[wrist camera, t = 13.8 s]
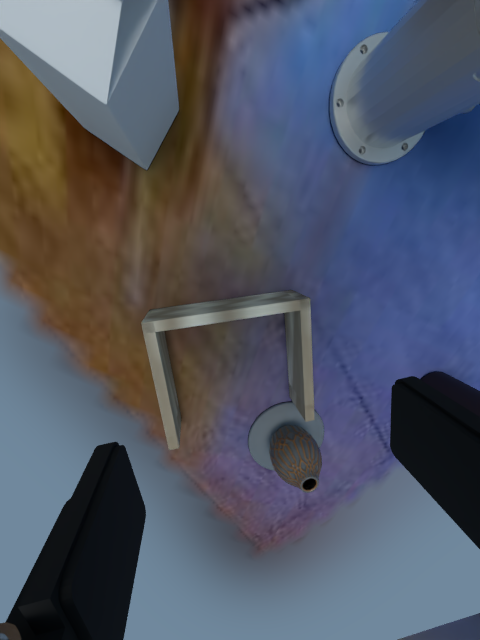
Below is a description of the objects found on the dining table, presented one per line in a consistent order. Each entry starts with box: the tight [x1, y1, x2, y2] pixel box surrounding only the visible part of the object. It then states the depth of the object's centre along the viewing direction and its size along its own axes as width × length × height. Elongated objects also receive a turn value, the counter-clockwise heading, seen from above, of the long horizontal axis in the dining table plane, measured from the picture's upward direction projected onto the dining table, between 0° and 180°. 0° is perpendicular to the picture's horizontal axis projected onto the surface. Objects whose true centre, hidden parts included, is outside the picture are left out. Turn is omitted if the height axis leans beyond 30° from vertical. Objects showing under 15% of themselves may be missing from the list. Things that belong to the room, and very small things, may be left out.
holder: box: [141, 290, 314, 450], centre depth 34 cm, size 18×16×6 cm
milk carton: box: [0, 0, 179, 170], centre depth 19 cm, size 7×7×19 cm
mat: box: [248, 402, 324, 470], centre depth 42 cm, size 12×12×1 cm
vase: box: [269, 425, 322, 493], centre depth 38 cm, size 7×7×9 cm
